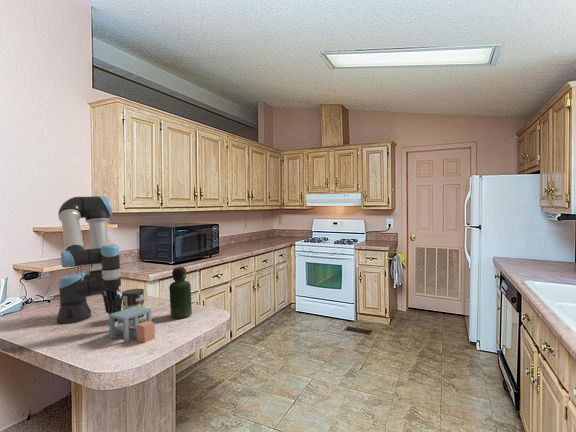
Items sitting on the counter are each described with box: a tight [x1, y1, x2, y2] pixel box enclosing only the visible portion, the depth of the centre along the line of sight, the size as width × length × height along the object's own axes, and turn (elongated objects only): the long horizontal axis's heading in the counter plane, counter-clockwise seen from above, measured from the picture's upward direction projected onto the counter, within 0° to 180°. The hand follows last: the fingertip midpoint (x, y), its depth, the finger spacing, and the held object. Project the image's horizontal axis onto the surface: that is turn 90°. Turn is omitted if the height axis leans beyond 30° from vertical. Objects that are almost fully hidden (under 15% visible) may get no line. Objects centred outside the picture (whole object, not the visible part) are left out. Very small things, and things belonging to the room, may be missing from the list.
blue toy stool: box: [108, 306, 153, 343], centre depth 145 cm, size 11×13×10 cm
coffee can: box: [121, 288, 146, 323], centre depth 167 cm, size 10×10×14 cm
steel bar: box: [115, 324, 137, 341], centre depth 145 cm, size 18×4×3 cm, turn 61°
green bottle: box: [168, 266, 193, 320], centre depth 168 cm, size 10×10×25 cm
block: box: [136, 320, 156, 344], centre depth 139 cm, size 5×5×7 cm
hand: (114, 328), depth 151 cm, fingers closed
